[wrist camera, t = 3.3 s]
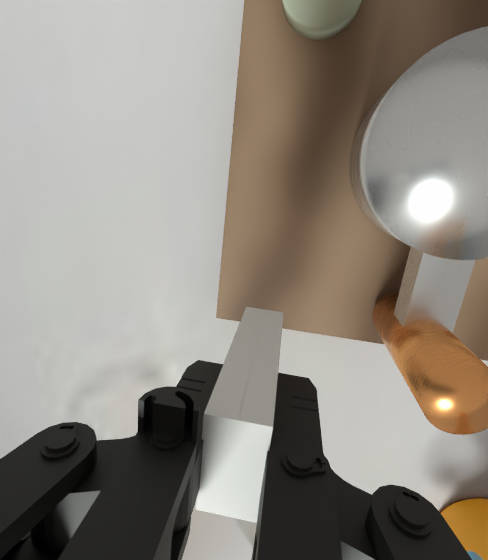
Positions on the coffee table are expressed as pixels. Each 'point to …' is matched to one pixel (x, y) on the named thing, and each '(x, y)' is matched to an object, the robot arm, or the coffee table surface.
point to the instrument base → (324, 162)
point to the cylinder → (470, 525)
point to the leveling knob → (432, 220)
